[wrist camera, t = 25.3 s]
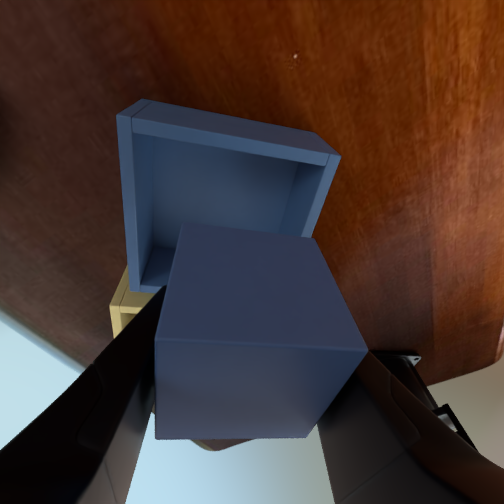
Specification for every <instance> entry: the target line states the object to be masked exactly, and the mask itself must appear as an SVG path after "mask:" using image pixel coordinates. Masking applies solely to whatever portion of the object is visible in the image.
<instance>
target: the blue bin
mask: <svg viewBox="0 0 504 504" xmlns="http://www.w3.org/2000/svg"><path fill="white" fill-rule="evenodd" d="M116 121H117V134H118V147H119V159H120V172H121V185H122V198H123V211H124V224H125V236H126V249H127V262H128V275H129V288H130V291H131V292H143V293H157V292H158V290H159V289H160V288H161V287H162V286H163V285H168V280H169V276H170V272H171V268H172V264H173V259H174V255H175V251H176V247H177V243H178V238H179V234H180V230H181V226H182V223H183V222H190V223H198V224H206V225H214V226H222V227H230V228H237V229H245V230H253V231H261V232H269V233H276V234H284V235H292V236H300V237H308V238H311V236H312V233H313V230H314V228H315V225H316V222H317V220H318V217H319V214H320V212H321V209H322V206H323V204H324V201H325V198H326V196H327V193H328V190H329V188H330V185H331V182H332V180H333V177H334V175H335V172H336V169H337V167H338V164H339V161H340V159H341V155H339V154H338V153H337V152H336V151H335V150H334V149H333V148H332V147H331V146H329V145H328V144H327V143H326V142H325V141H324V140H323V139H322V138H321V137H319V136H318V135H317V134H316V133H314V132H309V131H304V130H299V129H294V128H289V127H284V126H279V125H273V124H268V123H263V122H258V121H253V120H248V119H243V118H238V117H233V116H228V115H223V114H218V113H213V112H208V111H203V110H198V109H193V108H187V107H182V106H177V105H172V104H167V103H162V102H157V101H152V100H147V99H140V100H139V101H138V102H136V103H134V104H133V105H131V106H130V107H128V108H126V109H125V110H123V111H121V112H120V113H118V114H117V115H116Z"/></svg>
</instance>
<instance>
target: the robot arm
mask: <svg viewBox="0 0 504 504" xmlns="http://www.w3.org/2000/svg"><path fill="white" fill-rule="evenodd" d="M166 289H167V285H163V286H162V287H161V288H160V289H159V290H158V292H157V293H156V294H155V295H154V296H153V297H152V298H151V299H150V300H149V301H148V302H147V304H146V305H145V306H144V307H143V308H142V309H141V310H140V311H139V312H138V313H137V314H136V315H135V317H134V318H133V319H132V320H131V321H130V322H129V323H128V324H127V325H126V326H125V327H124V329H123V330H122V331H121V332H120V333H119V334H118V335H117V336H116V337H115V338H114V339H113V340H112V342H111V343H110V344H109V345H108V346H107V347H106V348H105V349H104V350H103V351H102V352H101V353H100V355H99V356H98V357H97V358H96V359H95V360H94V361H93V364H90V365H89V366H88V367H87V369H86V370H85V371H84V372H83V373H82V374H81V375H80V376H79V377H78V378H77V380H75V381H74V382H73V383H72V384H71V385H70V387H68V389H67V390H66V391H65V392H64V393H62V395H60V396H59V397H58V398H57V399H56V400H55V401H54V402H53V403H52V404H51V405H50V406H49V407H48V408H47V409H45V410H44V411H43V412H42V413H41V414H40V415H39V416H38V417H37V418H36V419H34V420H33V421H32V422H31V423H30V424H29V425H28V426H27V427H25V428H24V429H23V430H22V431H21V432H20V433H19V434H18V435H17V436H16V437H14V438H13V439H12V440H11V441H10V442H9V443H8V444H7V445H6V446H4V447H3V448H2V449H1V450H0V504H125V502H126V498H127V495H128V491H129V488H130V484H131V481H132V477H133V474H134V470H135V467H136V463H137V460H138V456H139V453H140V449H141V446H142V442H143V439H144V435H145V432H146V428H147V425H148V421H149V418H150V414H151V411H152V407H153V404H154V400H155V335H156V331H157V327H158V322H159V318H160V314H161V310H162V306H163V301H164V297H165V293H166ZM420 359H421V357H420V355H419V354H418V353H401V352H379V351H369V350H368V352H367V354H366V355H365V357H364V358H363V359H362V361H361V362H360V364H359V365H358V366H357V368H356V369H355V371H354V372H353V373H352V375H351V376H350V378H349V379H348V380H347V382H346V383H345V384H344V386H343V387H342V389H341V390H340V391H339V393H338V394H337V396H336V397H335V398H334V400H333V401H332V403H331V404H330V405H329V407H328V408H327V409H326V411H325V412H324V414H323V415H322V416H321V418H320V419H319V421H318V422H317V426H318V431H319V435H320V439H321V444H322V449H323V453H324V457H325V462H326V466H327V471H328V475H329V480H330V484H331V489H332V493H333V497H334V502H335V504H504V469H503V468H501V467H499V466H497V465H496V464H494V463H493V462H491V461H489V460H488V459H487V458H485V457H484V456H482V455H481V454H480V453H479V452H478V450H477V449H476V447H475V446H474V444H473V442H472V441H471V439H470V438H469V436H468V435H467V433H466V432H465V430H464V428H463V427H462V425H461V424H460V422H459V421H458V419H457V417H456V416H455V414H454V413H453V411H452V410H451V408H450V407H449V405H448V404H445V405H443V406H442V407H438V405H437V404H436V402H435V400H434V399H433V397H432V395H431V394H430V392H429V390H428V389H427V387H426V385H425V384H424V382H423V380H422V379H421V377H420V375H419V374H418V372H417V371H416V369H415V367H414V366H415V364H416V363H417V362H418V361H419V360H420ZM454 428H456V429H457V432H454V431H453V430H452V429H454Z"/></svg>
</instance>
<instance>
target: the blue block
mask: <svg viewBox="0 0 504 504" xmlns="http://www.w3.org/2000/svg"><path fill="white" fill-rule="evenodd" d="M367 352H368V348H367V346H366V343H365V341H364V339H363V337H362V335H361V333H360V331H359V329H358V327H357V325H356V323H355V321H354V319H353V317H352V315H351V313H350V311H349V308H348V306H347V304H346V302H345V300H344V298H343V296H342V294H341V292H340V290H339V288H338V286H337V284H336V282H335V280H334V278H333V276H332V274H331V271H330V269H329V267H328V265H327V263H326V261H325V259H324V257H323V255H322V253H321V251H320V249H319V247H318V245H317V243H316V241H315V239H314V238H308V237H300V236H292V235H284V234H276V233H269V232H261V231H253V230H245V229H237V228H230V227H222V226H214V225H206V224H198V223H190V222H183V223H182V226H181V230H180V234H179V238H178V243H177V247H176V251H175V255H174V259H173V264H172V268H171V272H170V276H169V280H168V285H167V289H166V293H165V297H164V301H163V306H162V310H161V314H160V318H159V322H158V327H157V331H156V335H155V439H157V440H174V439H175V440H176V439H259V438H306V437H307V436H308V434H309V433H310V432H311V430H312V429H313V427H314V426H315V425H316V423H317V422H318V421H319V419H320V418H321V416H322V415H323V414H324V412H325V411H326V409H327V408H328V407H329V405H330V404H331V403H332V401H333V400H334V398H335V397H336V396H337V394H338V393H339V391H340V390H341V389H342V387H343V386H344V384H345V383H346V382H347V380H348V379H349V378H350V376H351V375H352V373H353V372H354V371H355V369H356V368H357V366H358V365H359V364H360V362H361V361H362V359H363V358H364V357H365V355H366V354H367Z"/></svg>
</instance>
